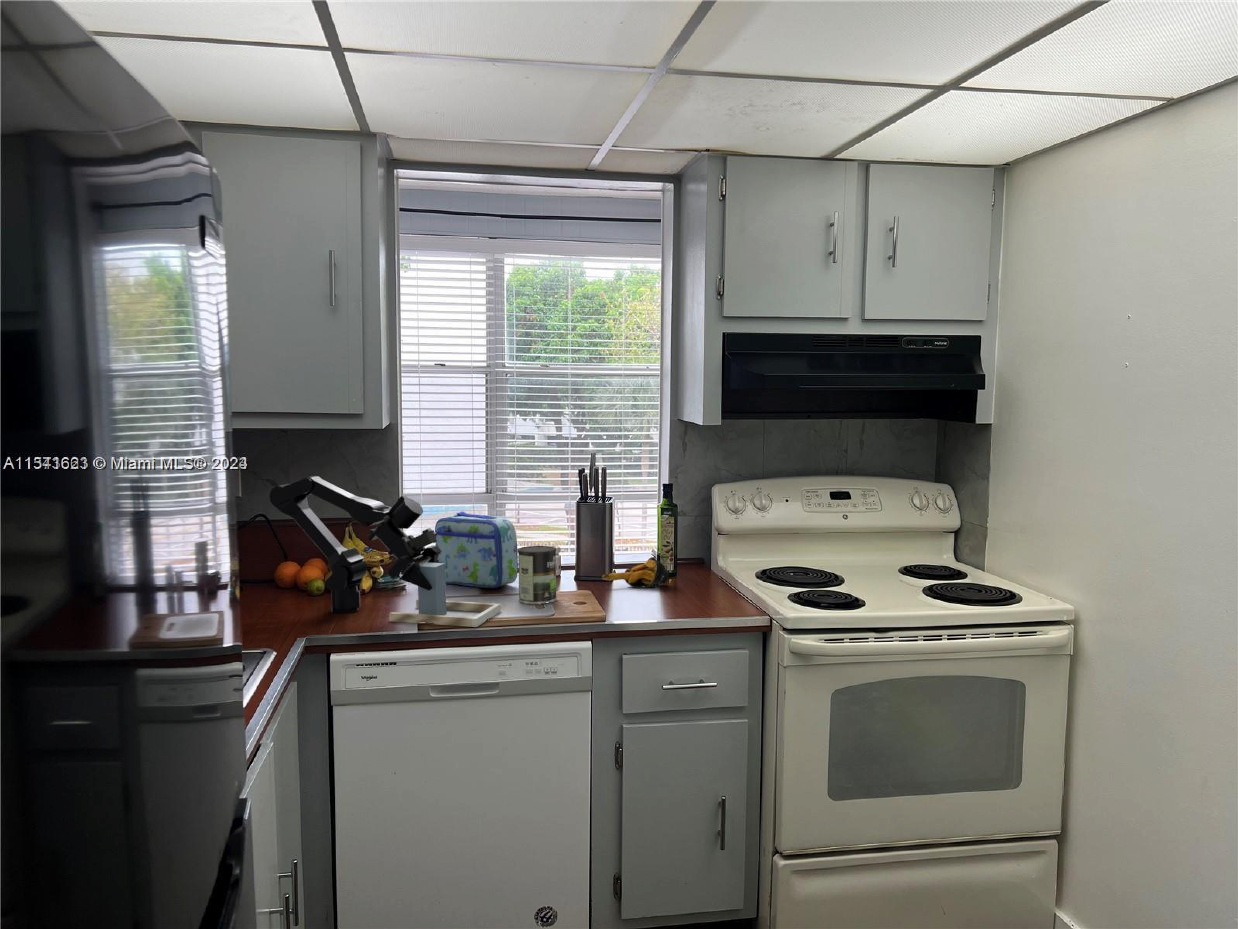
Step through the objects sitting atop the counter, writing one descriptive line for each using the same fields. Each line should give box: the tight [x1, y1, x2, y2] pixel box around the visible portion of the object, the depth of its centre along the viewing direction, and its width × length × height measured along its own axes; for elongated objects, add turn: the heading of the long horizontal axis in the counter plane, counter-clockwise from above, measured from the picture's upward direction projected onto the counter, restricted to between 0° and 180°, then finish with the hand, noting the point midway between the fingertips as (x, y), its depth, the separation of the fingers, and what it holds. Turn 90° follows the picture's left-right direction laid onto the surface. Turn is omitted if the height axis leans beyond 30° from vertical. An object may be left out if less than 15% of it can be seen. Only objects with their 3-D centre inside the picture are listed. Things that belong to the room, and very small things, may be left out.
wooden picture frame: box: [388, 599, 502, 628], centre depth 219 cm, size 23×15×2 cm, turn 75°
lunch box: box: [434, 511, 519, 589], centre depth 255 cm, size 26×11×21 cm, turn 56°
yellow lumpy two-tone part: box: [601, 556, 670, 589], centre depth 250 cm, size 9×11×18 cm
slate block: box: [417, 563, 447, 616], centre depth 219 cm, size 5×5×13 cm
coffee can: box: [517, 545, 557, 605], centre depth 235 cm, size 10×10×14 cm
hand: (437, 586), depth 219 cm, fingers open, 7 cm apart
